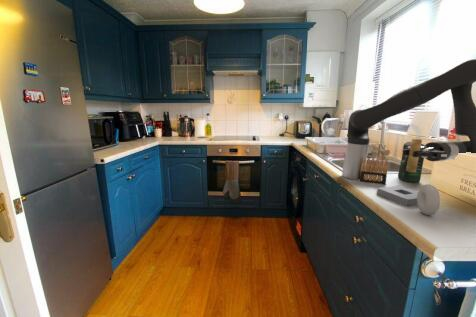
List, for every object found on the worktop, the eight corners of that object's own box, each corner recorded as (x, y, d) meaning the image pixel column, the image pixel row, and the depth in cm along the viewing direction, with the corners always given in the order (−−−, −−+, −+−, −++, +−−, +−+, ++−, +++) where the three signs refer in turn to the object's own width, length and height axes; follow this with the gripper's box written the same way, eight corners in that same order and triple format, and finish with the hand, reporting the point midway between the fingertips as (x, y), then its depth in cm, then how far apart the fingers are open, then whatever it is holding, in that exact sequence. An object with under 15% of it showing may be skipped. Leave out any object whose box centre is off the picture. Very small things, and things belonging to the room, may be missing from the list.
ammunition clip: (359, 181, 107) (362, 156, 104) (359, 180, 109) (362, 156, 106) (385, 184, 102) (389, 159, 100) (385, 183, 104) (389, 158, 101)
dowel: (403, 170, 86) (409, 139, 83) (409, 169, 87) (415, 138, 84) (412, 172, 83) (418, 140, 80) (417, 171, 84) (424, 139, 81)
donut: (412, 206, 80) (418, 179, 77) (424, 208, 78) (430, 181, 76) (425, 219, 70) (431, 189, 68) (438, 221, 69) (445, 190, 67)
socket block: (376, 194, 91) (377, 188, 90) (398, 191, 95) (399, 185, 94) (406, 206, 80) (407, 199, 79) (429, 202, 84) (431, 195, 83)
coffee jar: (422, 183, 104) (430, 144, 100) (402, 182, 107) (410, 143, 103) (413, 177, 114) (420, 141, 109) (395, 176, 116) (401, 140, 112)
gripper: (422, 139, 93) (392, 140, 88) (465, 144, 80) (432, 146, 75) (419, 156, 95) (388, 159, 90) (460, 164, 82) (427, 167, 77)
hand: (408, 153), depth 82 cm, fingers closed on dowel, 3 cm apart
